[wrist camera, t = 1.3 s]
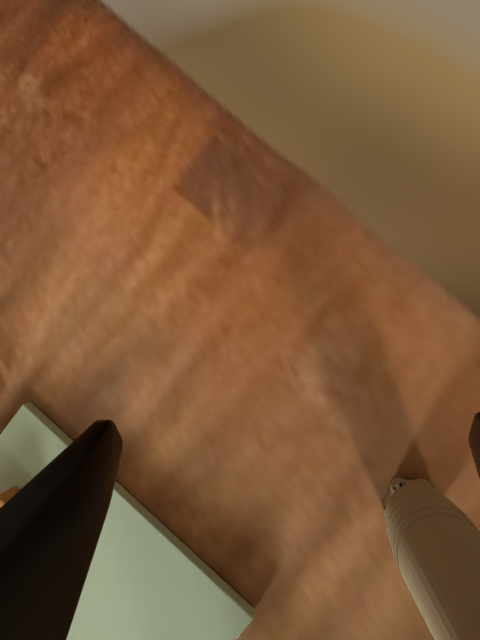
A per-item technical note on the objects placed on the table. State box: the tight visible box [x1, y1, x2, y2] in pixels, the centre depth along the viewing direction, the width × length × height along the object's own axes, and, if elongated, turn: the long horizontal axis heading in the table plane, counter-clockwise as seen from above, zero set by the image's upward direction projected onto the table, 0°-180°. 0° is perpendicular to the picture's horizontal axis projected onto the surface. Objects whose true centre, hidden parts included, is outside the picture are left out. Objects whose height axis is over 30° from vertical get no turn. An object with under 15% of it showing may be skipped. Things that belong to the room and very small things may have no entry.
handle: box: [382, 477, 480, 640], centre depth 16 cm, size 5×6×15 cm
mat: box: [0, 402, 255, 640], centre depth 26 cm, size 20×18×1 cm
